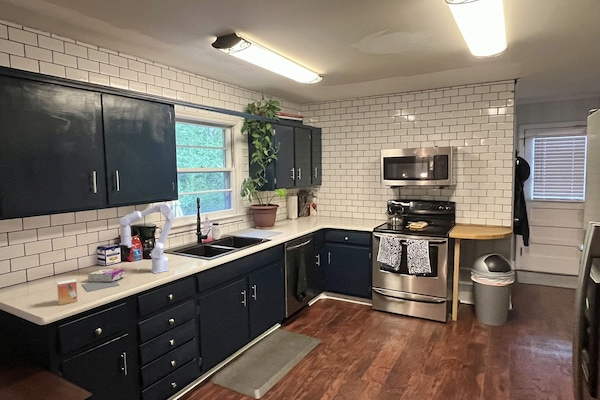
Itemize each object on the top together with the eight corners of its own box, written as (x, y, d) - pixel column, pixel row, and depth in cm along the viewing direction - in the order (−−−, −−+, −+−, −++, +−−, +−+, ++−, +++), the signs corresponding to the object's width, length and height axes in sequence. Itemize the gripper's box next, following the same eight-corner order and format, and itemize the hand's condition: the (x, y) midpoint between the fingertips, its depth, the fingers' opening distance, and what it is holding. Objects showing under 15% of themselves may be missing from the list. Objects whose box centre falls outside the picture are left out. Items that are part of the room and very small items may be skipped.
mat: (112, 279, 223) (112, 278, 223) (119, 285, 211) (119, 284, 211) (81, 284, 213) (81, 284, 213) (87, 291, 200) (87, 291, 200)
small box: (58, 305, 181) (57, 284, 180) (58, 302, 185) (56, 281, 184) (78, 302, 185) (76, 281, 184) (76, 298, 190) (75, 278, 189)
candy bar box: (125, 277, 225) (102, 276, 228) (124, 268, 224) (101, 268, 228) (112, 282, 214) (88, 281, 218) (111, 273, 213) (87, 273, 217)
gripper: (115, 235, 235) (117, 256, 236) (122, 238, 224) (123, 260, 225) (127, 233, 239) (129, 254, 241) (134, 236, 228) (135, 258, 230)
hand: (127, 257), depth 233 cm, fingers closed
